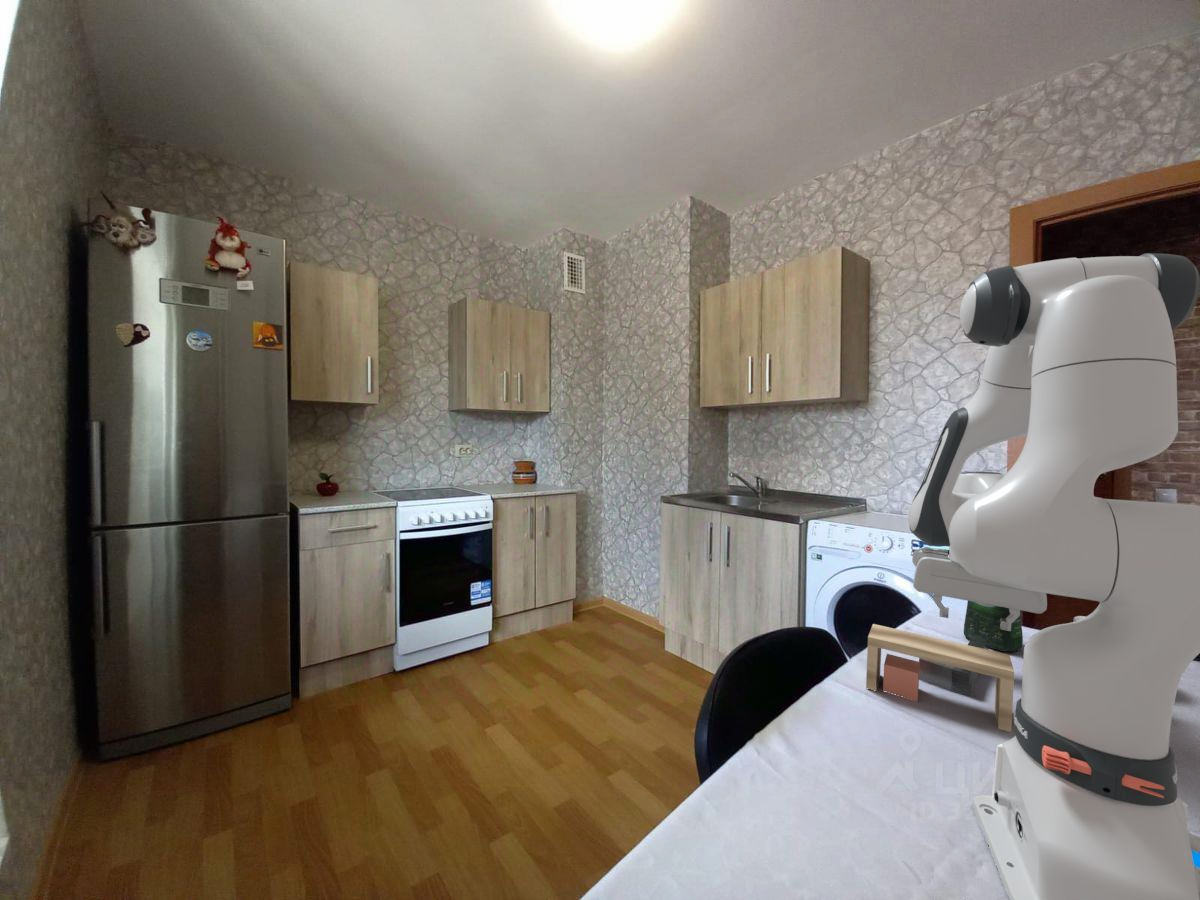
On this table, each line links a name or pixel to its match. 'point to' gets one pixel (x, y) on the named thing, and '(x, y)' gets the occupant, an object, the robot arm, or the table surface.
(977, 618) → the coffee jar
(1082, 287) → the robot arm
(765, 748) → the table surface
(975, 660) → the bridge
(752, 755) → the table surface
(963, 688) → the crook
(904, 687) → the block
